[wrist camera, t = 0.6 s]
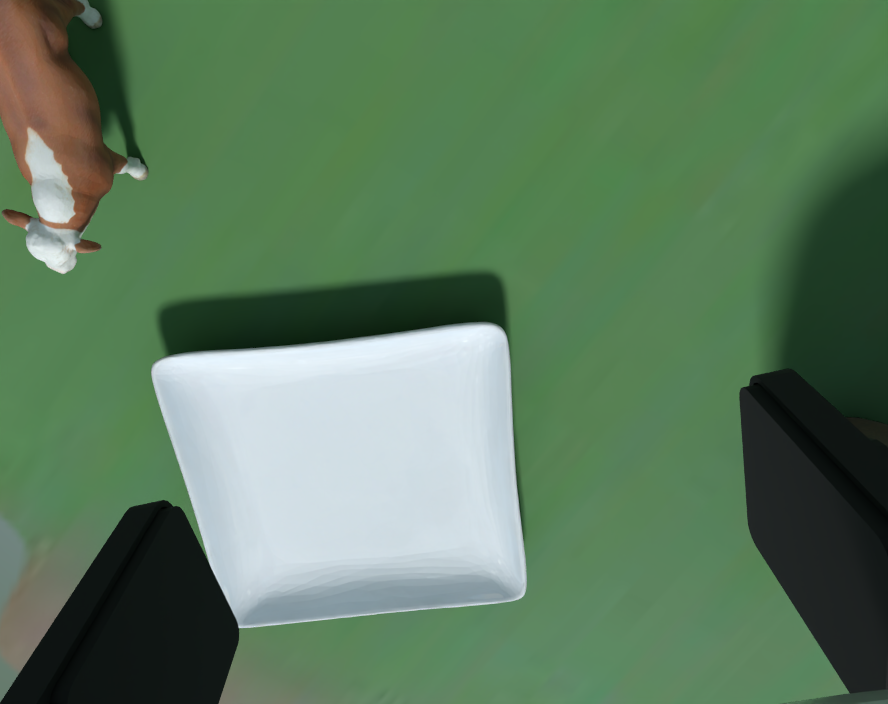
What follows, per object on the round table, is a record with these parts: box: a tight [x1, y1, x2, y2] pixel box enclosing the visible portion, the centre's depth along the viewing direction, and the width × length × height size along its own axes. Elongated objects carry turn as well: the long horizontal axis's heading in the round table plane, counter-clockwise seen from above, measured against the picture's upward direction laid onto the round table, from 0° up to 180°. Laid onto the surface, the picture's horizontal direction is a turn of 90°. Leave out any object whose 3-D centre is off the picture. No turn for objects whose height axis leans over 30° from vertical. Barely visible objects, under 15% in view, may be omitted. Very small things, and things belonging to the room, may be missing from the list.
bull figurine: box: [0, 0, 148, 274], centre depth 33 cm, size 4×13×8 cm, turn 3°
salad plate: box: [151, 322, 527, 628], centre depth 45 cm, size 21×21×3 cm
